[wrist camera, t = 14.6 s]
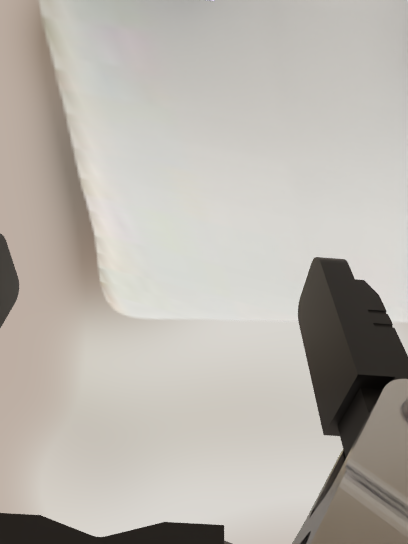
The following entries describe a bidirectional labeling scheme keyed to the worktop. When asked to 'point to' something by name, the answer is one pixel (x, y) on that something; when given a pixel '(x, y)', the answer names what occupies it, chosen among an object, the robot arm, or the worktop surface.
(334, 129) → the worktop surface
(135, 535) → the robot arm
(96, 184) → the worktop surface
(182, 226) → the worktop surface
